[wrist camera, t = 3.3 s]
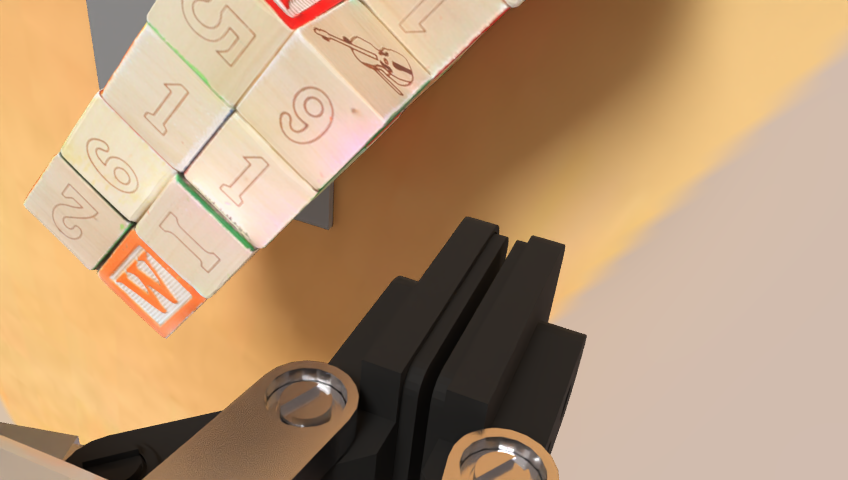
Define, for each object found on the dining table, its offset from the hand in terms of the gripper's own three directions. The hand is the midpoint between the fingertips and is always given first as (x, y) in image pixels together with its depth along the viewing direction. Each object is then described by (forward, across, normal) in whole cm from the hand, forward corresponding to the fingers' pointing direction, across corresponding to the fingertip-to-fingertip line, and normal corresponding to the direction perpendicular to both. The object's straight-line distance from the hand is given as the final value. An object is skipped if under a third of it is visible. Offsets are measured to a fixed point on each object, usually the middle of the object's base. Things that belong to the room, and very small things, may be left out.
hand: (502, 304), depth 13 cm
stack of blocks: (+18, +8, -1) cm, 19 cm away
